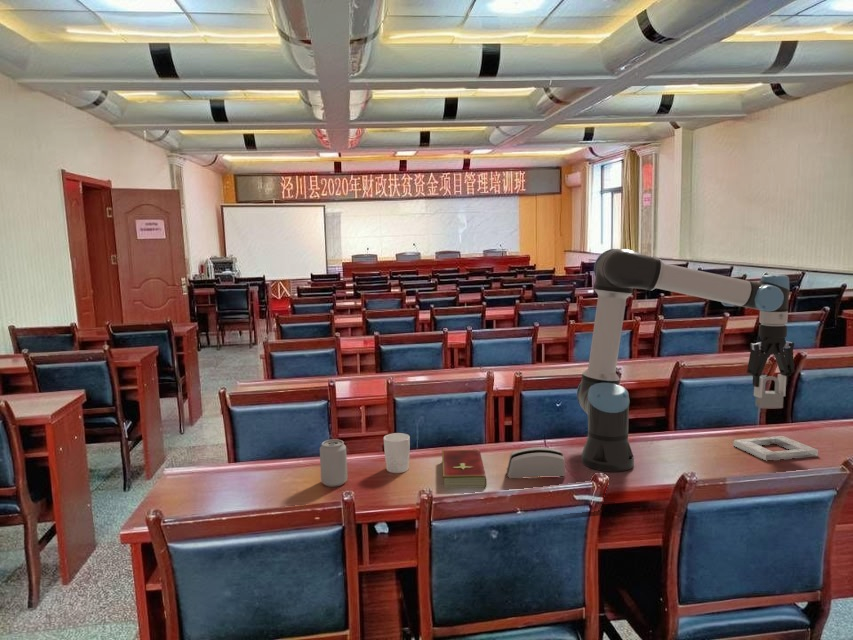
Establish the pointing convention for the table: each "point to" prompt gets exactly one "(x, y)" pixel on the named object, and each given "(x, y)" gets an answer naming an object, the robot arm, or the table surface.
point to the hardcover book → (463, 469)
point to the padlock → (770, 396)
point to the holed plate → (794, 451)
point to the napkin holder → (536, 463)
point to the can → (333, 463)
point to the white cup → (397, 452)
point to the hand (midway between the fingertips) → (769, 395)
